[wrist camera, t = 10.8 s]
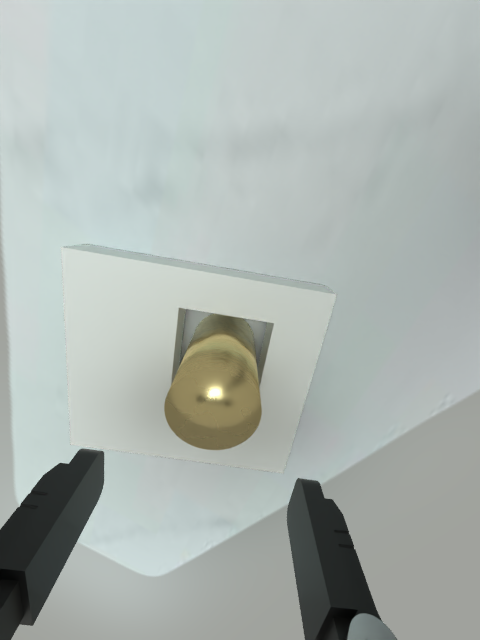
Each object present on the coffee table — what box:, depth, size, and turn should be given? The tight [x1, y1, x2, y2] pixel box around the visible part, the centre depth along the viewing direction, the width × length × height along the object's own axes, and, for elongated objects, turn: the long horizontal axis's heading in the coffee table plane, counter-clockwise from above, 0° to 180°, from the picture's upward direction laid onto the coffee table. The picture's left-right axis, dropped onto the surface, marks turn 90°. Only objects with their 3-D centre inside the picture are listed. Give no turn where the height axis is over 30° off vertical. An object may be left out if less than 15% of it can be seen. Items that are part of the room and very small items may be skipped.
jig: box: [61, 244, 337, 474], centre depth 21 cm, size 18×16×3 cm
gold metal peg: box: [164, 314, 262, 450], centre depth 18 cm, size 5×5×9 cm
